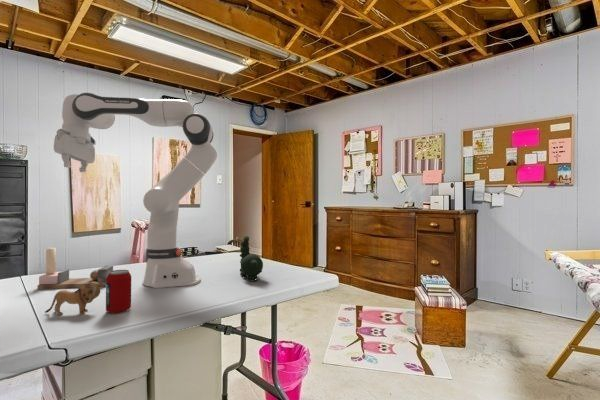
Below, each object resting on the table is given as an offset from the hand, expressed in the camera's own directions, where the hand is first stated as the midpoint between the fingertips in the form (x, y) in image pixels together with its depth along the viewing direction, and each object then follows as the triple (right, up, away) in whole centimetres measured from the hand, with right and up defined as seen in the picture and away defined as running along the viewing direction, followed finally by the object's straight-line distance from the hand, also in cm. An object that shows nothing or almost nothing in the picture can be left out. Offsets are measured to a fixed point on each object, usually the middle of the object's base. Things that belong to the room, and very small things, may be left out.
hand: (75, 169), depth 131 cm
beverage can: (+33, -46, -29) cm, 64 cm away
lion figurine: (+21, -46, -31) cm, 59 cm away
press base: (+1, -46, +1) cm, 46 cm away
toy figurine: (+66, -47, +17) cm, 82 cm away
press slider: (-8, -44, -1) cm, 44 cm away
